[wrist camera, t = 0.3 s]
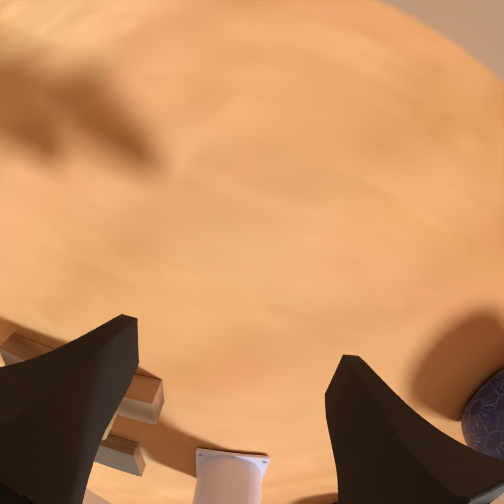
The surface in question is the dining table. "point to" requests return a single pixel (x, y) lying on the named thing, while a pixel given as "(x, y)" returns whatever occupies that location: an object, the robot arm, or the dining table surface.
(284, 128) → the dining table surface
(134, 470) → the steel plate
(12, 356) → the bench dog strip
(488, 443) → the planter
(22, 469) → the robot arm
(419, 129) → the dining table surface
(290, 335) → the dining table surface
